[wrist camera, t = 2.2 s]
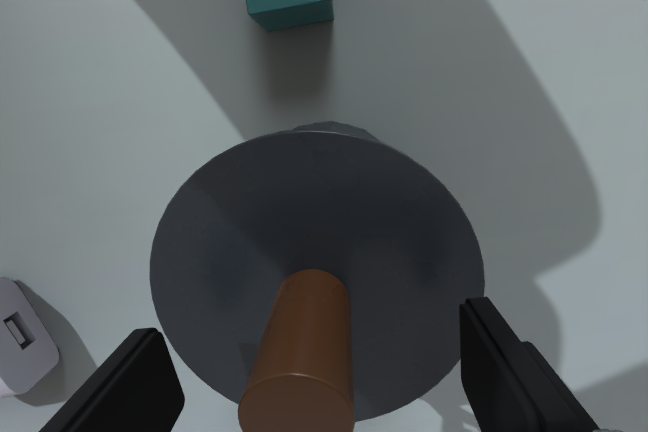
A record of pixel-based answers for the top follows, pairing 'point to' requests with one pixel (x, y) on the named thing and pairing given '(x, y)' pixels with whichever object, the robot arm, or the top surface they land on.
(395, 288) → the lid
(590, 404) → the top surface
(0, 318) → the charger
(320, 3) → the block
